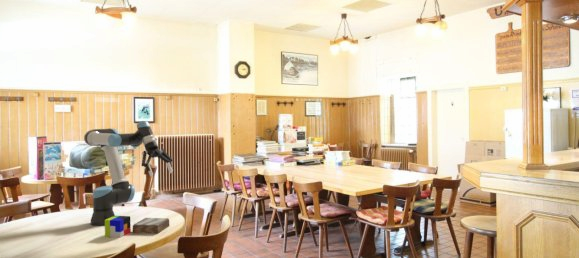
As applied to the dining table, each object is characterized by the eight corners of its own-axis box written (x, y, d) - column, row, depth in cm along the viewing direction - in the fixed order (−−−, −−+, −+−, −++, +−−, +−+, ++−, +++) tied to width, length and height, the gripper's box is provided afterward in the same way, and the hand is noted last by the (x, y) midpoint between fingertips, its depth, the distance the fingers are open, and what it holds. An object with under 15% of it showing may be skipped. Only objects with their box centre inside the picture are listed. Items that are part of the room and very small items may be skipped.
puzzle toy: (120, 237, 232) (120, 220, 231) (105, 236, 234) (104, 219, 233) (130, 232, 241) (130, 216, 241) (115, 231, 243) (115, 215, 243)
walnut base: (132, 232, 241) (132, 224, 240) (145, 225, 256) (145, 217, 256) (158, 233, 239) (158, 225, 238) (169, 225, 255) (169, 218, 254)
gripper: (134, 142, 239) (145, 174, 233) (170, 139, 258) (182, 168, 252) (128, 148, 243) (140, 179, 237) (164, 145, 262) (176, 173, 256)
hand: (161, 173), depth 244 cm, fingers open, 13 cm apart
